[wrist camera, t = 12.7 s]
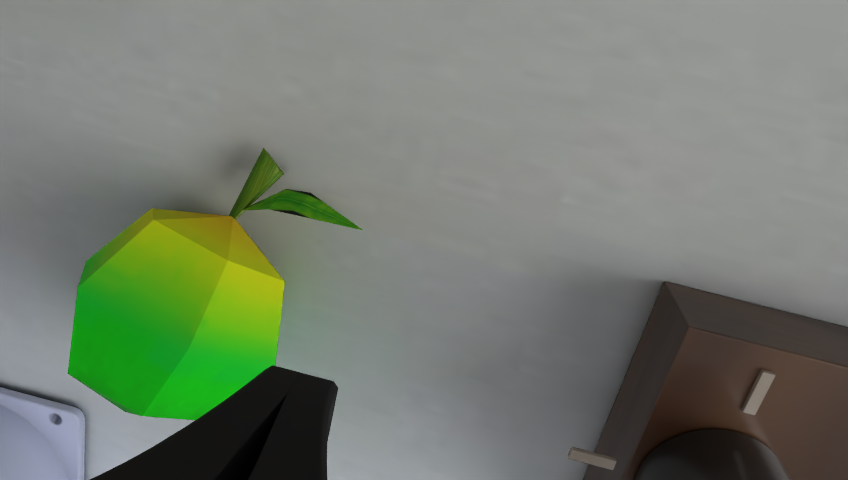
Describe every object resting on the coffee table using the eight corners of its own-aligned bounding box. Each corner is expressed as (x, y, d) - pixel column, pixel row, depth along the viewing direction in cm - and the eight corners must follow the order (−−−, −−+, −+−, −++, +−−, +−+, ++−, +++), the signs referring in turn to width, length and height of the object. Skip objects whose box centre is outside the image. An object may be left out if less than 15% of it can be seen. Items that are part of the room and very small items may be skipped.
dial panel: (522, 500, 24) (524, 570, 21) (608, 266, 20) (625, 312, 17) (884, 596, 24) (937, 681, 21) (1041, 375, 20) (1132, 441, 17)
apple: (-46, 356, 17) (128, 66, 18) (111, 358, 23) (236, 142, 24) (156, 505, 15) (341, 176, 16) (269, 464, 21) (399, 228, 22)
